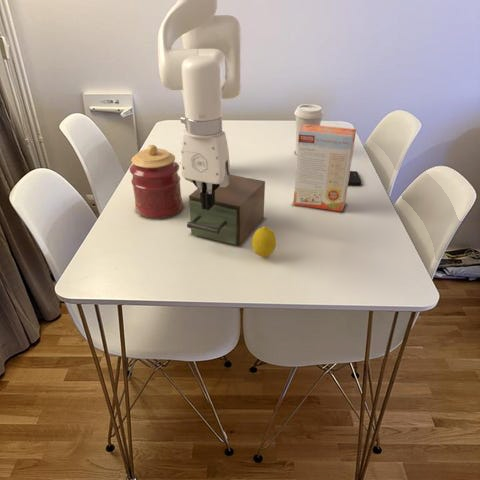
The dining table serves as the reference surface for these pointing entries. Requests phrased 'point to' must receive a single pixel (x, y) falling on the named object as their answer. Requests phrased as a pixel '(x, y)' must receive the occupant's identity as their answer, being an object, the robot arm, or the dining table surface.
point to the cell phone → (354, 178)
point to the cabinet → (241, 202)
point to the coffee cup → (307, 117)
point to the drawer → (214, 222)
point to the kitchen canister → (156, 183)
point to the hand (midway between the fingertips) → (208, 207)
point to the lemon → (264, 241)
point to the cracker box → (323, 166)
